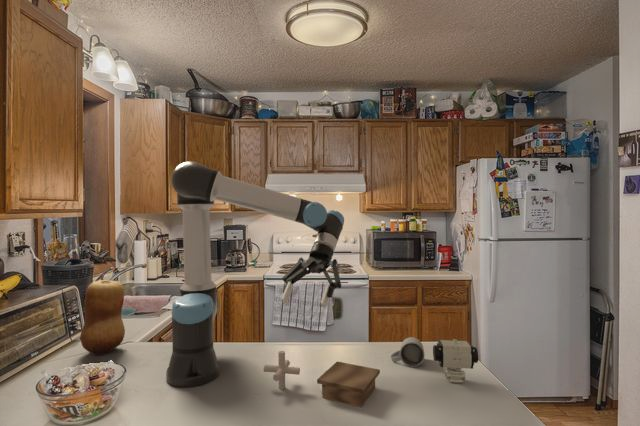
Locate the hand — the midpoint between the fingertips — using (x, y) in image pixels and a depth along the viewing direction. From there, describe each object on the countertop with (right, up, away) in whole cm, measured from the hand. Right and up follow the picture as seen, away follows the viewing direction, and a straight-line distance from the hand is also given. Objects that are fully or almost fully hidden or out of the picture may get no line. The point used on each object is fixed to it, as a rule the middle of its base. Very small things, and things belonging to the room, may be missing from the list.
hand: (302, 303), depth 115 cm
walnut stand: (+13, -21, -13) cm, 28 cm away
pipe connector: (-5, -21, -10) cm, 24 cm away
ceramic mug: (+34, -21, +8) cm, 41 cm away
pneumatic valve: (+44, -21, -6) cm, 49 cm away
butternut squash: (-70, -21, +17) cm, 75 cm away
